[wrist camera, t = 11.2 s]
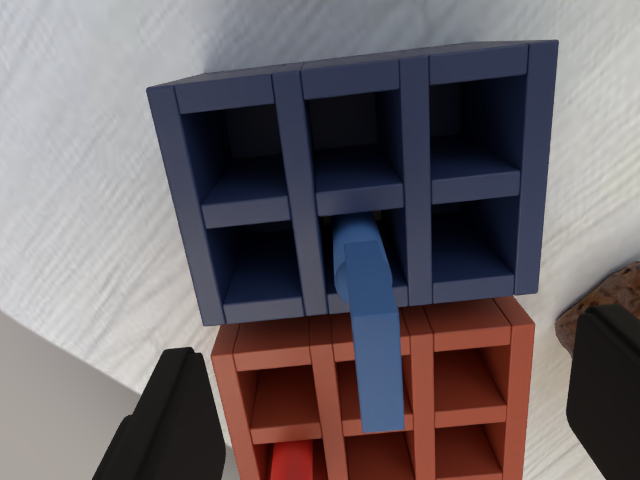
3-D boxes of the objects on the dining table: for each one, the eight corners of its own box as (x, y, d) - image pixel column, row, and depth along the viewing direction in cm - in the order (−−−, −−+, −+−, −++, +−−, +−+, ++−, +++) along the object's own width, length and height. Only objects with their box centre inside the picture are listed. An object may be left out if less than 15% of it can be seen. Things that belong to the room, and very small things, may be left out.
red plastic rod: (285, 389, 27) (262, 674, 15) (278, 344, 26) (245, 614, 14) (315, 386, 27) (317, 670, 15) (309, 341, 26) (305, 609, 14)
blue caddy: (235, 245, 25) (203, 327, 18) (201, 73, 21) (144, 87, 14) (471, 220, 24) (538, 294, 17) (475, 41, 21) (559, 39, 14)
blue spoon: (333, 228, 23) (345, 434, 11) (327, 165, 22) (331, 319, 10) (369, 224, 23) (422, 429, 11) (365, 162, 22) (418, 311, 10)
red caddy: (264, 393, 29) (247, 510, 21) (239, 267, 25) (209, 355, 18) (469, 373, 28) (522, 485, 21) (471, 243, 25) (536, 323, 18)
